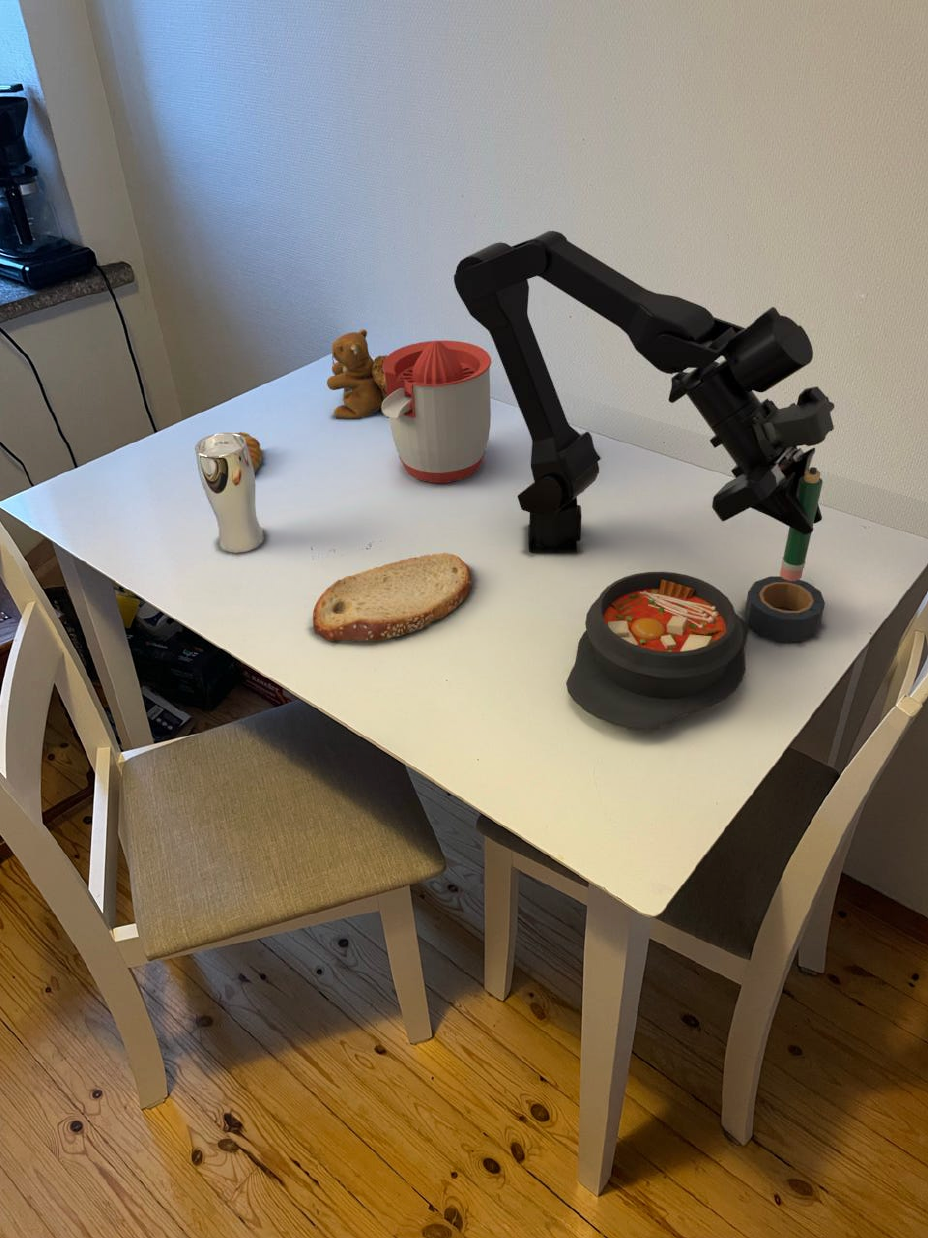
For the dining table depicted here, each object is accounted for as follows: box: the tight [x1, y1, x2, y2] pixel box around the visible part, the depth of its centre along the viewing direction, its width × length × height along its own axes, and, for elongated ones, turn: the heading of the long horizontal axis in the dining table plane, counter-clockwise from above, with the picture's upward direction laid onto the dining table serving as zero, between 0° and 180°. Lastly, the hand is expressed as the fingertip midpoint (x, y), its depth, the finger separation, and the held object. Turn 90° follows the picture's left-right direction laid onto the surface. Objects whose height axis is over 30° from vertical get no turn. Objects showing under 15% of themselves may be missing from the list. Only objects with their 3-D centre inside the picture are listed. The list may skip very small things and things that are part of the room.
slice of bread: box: [312, 552, 473, 643], centre depth 119 cm, size 18×18×4 cm
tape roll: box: [744, 575, 826, 644], centre depth 113 cm, size 8×8×4 cm
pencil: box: [779, 466, 824, 581], centre depth 106 cm, size 2×2×14 cm
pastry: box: [235, 431, 263, 474], centre depth 148 cm, size 9×7×4 cm
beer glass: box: [194, 432, 265, 554], centre depth 128 cm, size 7×7×15 cm
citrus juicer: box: [381, 340, 492, 485], centre depth 140 cm, size 16×17×20 cm
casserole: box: [565, 571, 750, 731], centre depth 106 cm, size 25×19×8 cm
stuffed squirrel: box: [326, 328, 388, 419], centre depth 160 cm, size 10×14×13 cm
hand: (814, 527), depth 105 cm, fingers closed on pencil, 2 cm apart
